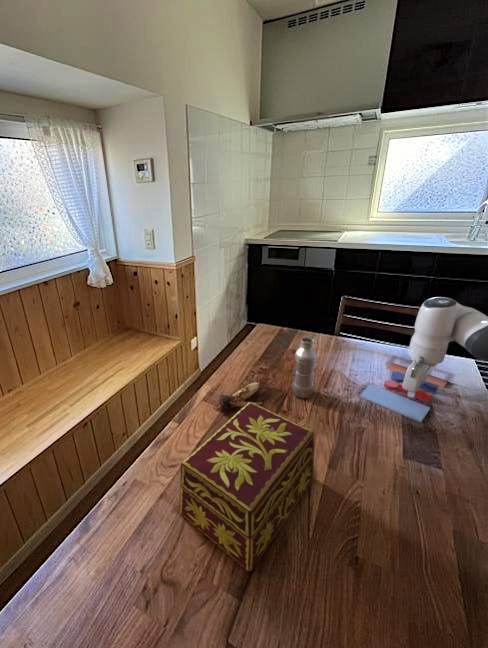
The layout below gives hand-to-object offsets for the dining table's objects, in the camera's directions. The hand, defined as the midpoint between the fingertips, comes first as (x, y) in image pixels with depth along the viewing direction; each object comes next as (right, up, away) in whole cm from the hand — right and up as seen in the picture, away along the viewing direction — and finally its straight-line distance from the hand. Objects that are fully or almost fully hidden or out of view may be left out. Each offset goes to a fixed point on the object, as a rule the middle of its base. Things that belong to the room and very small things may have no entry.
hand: (416, 390), depth 104 cm
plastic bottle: (-34, -3, +5) cm, 34 cm away
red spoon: (-2, -1, +3) cm, 4 cm away
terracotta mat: (+8, +3, +12) cm, 15 cm away
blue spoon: (+3, +1, +7) cm, 7 cm away
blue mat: (-8, -4, -1) cm, 9 cm away
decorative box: (-57, -19, -27) cm, 65 cm away
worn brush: (-53, -5, +3) cm, 53 cm away
